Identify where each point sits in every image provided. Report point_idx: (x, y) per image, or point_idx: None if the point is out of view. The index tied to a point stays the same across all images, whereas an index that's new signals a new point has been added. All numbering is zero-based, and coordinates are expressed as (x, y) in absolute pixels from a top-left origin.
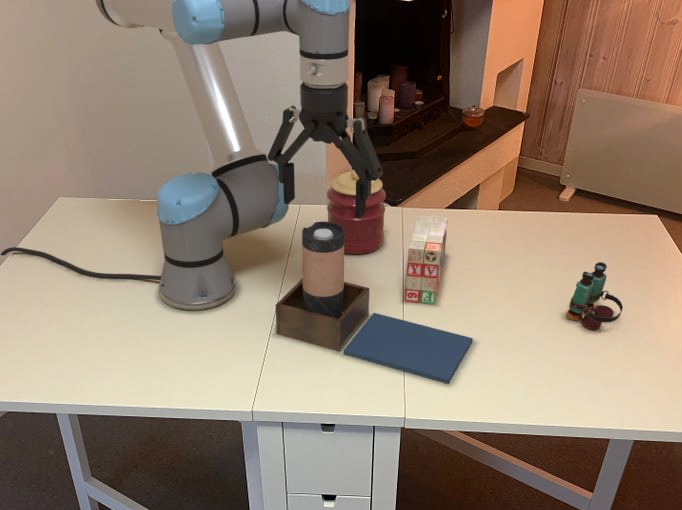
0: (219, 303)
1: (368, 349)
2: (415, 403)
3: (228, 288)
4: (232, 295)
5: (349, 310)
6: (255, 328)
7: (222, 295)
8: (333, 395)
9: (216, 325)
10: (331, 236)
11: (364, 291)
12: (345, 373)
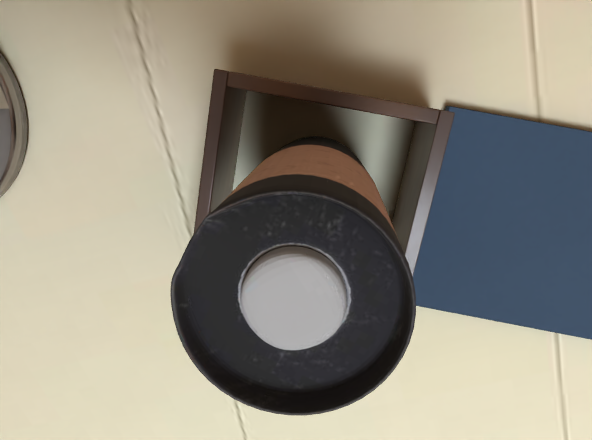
0: (14, 173)
1: (462, 287)
2: (589, 425)
3: (2, 134)
4: (24, 118)
5: (412, 266)
6: (153, 245)
7: (5, 164)
8: (407, 434)
9: (58, 256)
10: (345, 313)
11: (440, 141)
12: (417, 362)
